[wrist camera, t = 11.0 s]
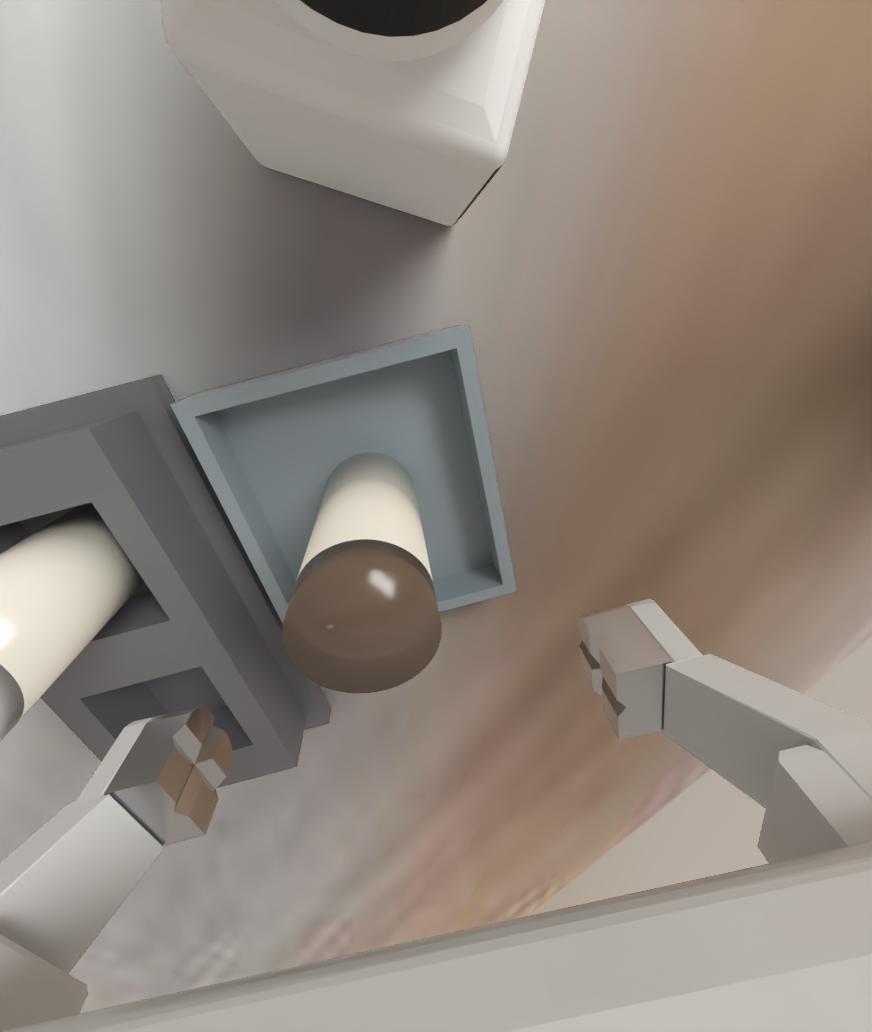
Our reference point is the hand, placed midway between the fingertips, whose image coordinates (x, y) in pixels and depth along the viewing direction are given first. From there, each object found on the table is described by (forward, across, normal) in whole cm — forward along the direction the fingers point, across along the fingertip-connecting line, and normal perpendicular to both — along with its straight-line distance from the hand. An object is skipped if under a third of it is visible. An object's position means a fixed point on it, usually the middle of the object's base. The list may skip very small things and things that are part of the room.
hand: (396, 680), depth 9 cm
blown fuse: (+11, +1, 0) cm, 11 cm away
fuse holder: (+11, +13, +3) cm, 17 cm away
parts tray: (+12, +1, 0) cm, 12 cm away
